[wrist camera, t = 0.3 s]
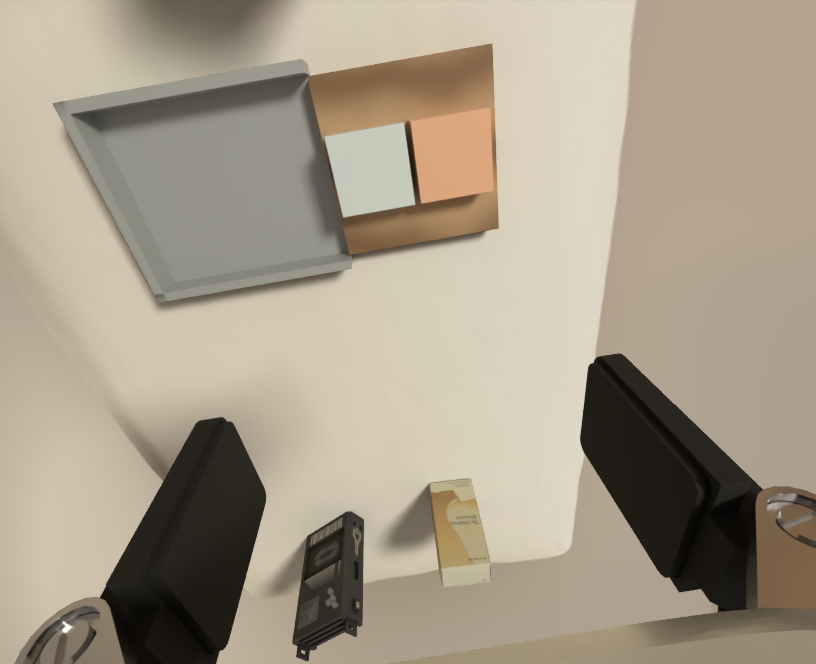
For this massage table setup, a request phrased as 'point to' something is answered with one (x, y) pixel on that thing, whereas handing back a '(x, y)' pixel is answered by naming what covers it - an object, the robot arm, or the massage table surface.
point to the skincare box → (459, 534)
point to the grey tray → (215, 178)
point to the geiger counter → (330, 584)
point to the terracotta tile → (452, 154)
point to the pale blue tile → (371, 168)
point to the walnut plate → (401, 101)
